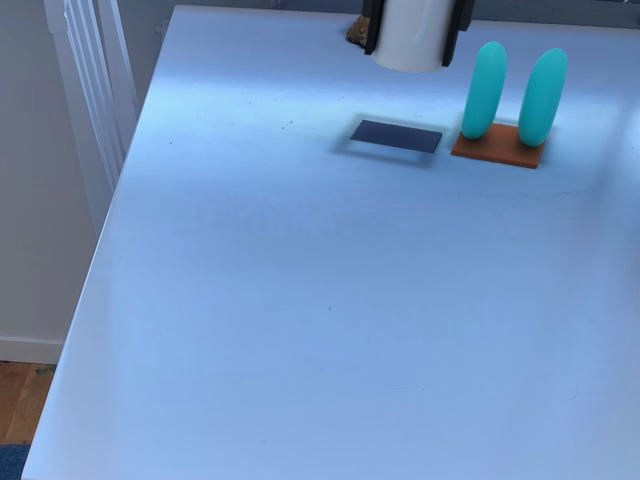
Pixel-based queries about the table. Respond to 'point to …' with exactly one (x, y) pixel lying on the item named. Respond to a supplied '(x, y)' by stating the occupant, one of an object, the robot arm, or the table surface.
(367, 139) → the blue mat
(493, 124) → the terracotta mat
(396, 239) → the table surface
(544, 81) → the cyan capsule pair
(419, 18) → the mug
